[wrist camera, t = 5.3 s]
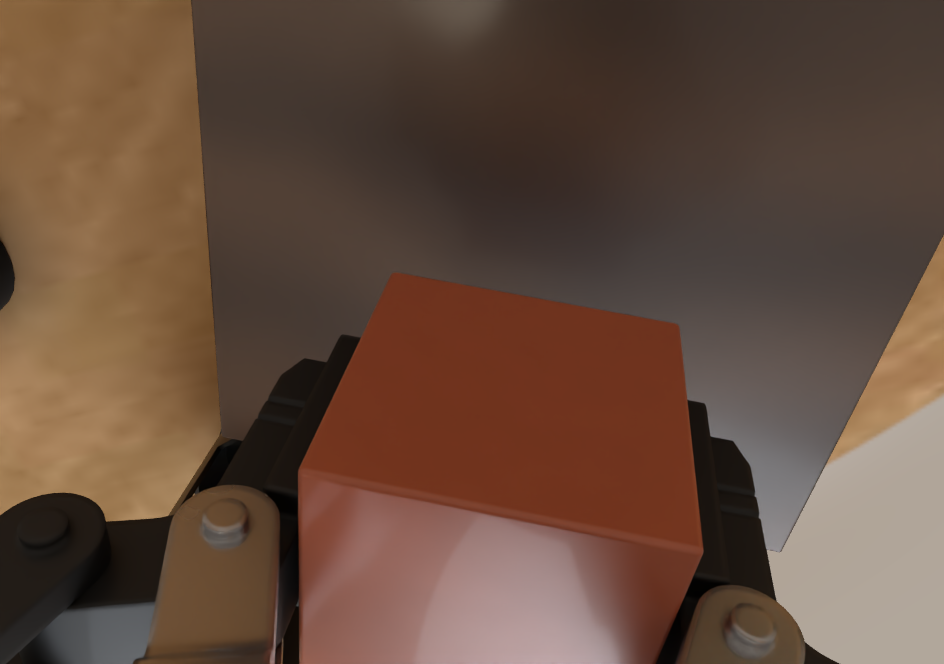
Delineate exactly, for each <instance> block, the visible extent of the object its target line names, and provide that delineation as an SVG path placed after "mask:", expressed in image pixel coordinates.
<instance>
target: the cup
mask: <svg viewBox="0 0 944 664" xmlns="http://www.w3.org/2000/svg"><path fill="white" fill-rule="evenodd" d="M14 279H15V277H14V272H13V267H12V263H11V260H10V258H9V256H8V254H7V252H6V249H5V247H4V246H3V244H2V243H1V242H0V310H1V309H2V308H3V307H4V306H5V305H6V304H7V303H8V302H9V300H10V298H11V295H12V293H13V291H14Z"/></svg>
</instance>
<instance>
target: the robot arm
mask: <svg viewBox="0 0 944 664" xmlns="http://www.w3.org/2000/svg"><path fill="white" fill-rule="evenodd" d="M360 339H361V337H355V336H350V335H345V334H342V335H341V336H340V337H339V339H338V341H337V343H336V345H335V347H334V349H333V351H332V352H331V354H330V356H329V358H328V360H327V362H322V361H317V360H312V359H307V358H304V359H303V360H301V361H300V362H298V363H297V364H296V365H294V366H293V367H291V368H290V369H289V370H287V371H286V372H284V373H283V374H282V375H281V376H280V378H279V379H278V381H277V383H276V384H275V386H274V388H273V390H272V391H271V393H270V395H269V397H268V401H266V402H265V404H264V405H263V407H262V409H261V410H260V412H259V414H258V418H257V419H255V421H254V423H253V424H252V426H251V428H250V429H249V431H248V433H247V435H246V436H245V438H244V440H243V442H242V443H241V445H240V447H239V449H238V450H237V452H236V454H235V455H234V457H233V459H232V461H231V462H230V464H229V466H228V468H227V469H226V471H225V473H224V474H223V476H222V478H221V480H220V481H219V483H218V485H217V486H216V487H212V488H209V489H206V490H203V491H201V492H199V493H197V494H195V495H194V496H192V497H191V498H189V499H188V500H187V501H186V502H184V503H183V504H182V505H181V506H180V508H179V509H178V510H177V511H176V513H175V514H174V515H171V516H166V517H162V518H154V519H140V520H125V521H110V522H106V521H105V517H104V513H103V512H102V510H101V508H100V507H99V506H98V505H97V504H96V503H95V502H94V501H92V500H90V499H89V498H86V497H84V496H81V495H77V494H72V493H52V494H45V495H41V496H37V497H33V498H31V499H28V500H25V501H23V502H21V503H19V504H17V505H15V506H13V507H12V508H10V509H9V510H7V511H6V512H4V513H3V514H2V515H0V664H282V663H283V637H284V635H285V632H286V630H287V627H288V625H289V622H290V620H291V617H292V615H293V612H294V609H295V607H296V606H298V607H299V549H298V470H299V468H300V465H301V463H302V461H303V459H304V457H305V455H306V453H307V451H308V449H309V446H310V444H311V442H312V440H313V438H314V436H315V434H316V432H317V430H318V427H319V425H320V423H321V421H322V419H323V417H324V415H325V413H326V411H327V408H328V406H329V404H330V402H331V400H332V398H333V396H334V394H335V392H336V389H337V387H338V385H339V383H340V381H341V379H342V377H343V375H344V373H345V370H346V368H347V366H348V364H349V362H350V360H351V358H352V356H353V354H354V351H355V349H356V347H357V345H358V343H359V341H360ZM687 401H688V410H689V420H690V429H691V438H692V448H693V457H694V466H695V475H696V485H697V494H698V503H699V513H700V522H701V531H702V541H703V550H704V552H703V555H702V557H701V559H700V562H699V564H698V566H697V569H696V571H695V573H694V576H693V578H692V580H691V583H690V585H689V587H688V590H687V592H686V594H685V597H684V599H683V601H682V604H681V606H680V608H679V611H678V613H677V615H676V618H675V620H674V622H673V625H672V627H671V629H670V632H669V634H668V636H667V639H666V641H665V643H664V646H663V648H662V650H661V653H660V655H659V657H658V660H657V662H656V664H839V663H837V662H835V661H833V660H831V659H829V658H827V657H825V656H824V655H822V654H820V653H819V652H817V651H816V650H815V649H813V648H812V647H810V646H809V645H808V644H807V643H805V642H804V638H803V635H802V632H801V630H800V628H799V626H798V625H797V623H796V621H795V620H794V619H793V617H792V616H791V615H790V614H789V613H788V612H787V611H786V609H784V607H782V606H781V605H780V604H779V603H778V602H777V601H776V597H775V592H774V587H773V582H772V577H771V571H770V566H769V560H768V555H767V550H766V545H765V539H764V534H763V529H762V524H761V519H759V514H760V513H759V508H758V503H757V497H755V487H754V482H753V476H752V471H751V466H750V465H749V463H748V462H747V460H746V459H745V457H744V456H743V454H742V453H741V452H740V450H739V449H738V447H737V446H736V444H735V443H734V441H732V440H727V439H721V438H716V437H711V436H710V429H709V421H708V414H707V408H706V405H705V403H701V402H696V401H691V400H687Z"/></svg>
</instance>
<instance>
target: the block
mask: <svg viewBox="0 0 944 664" xmlns="http://www.w3.org/2000/svg"><path fill="white" fill-rule="evenodd" d="M298 549H299V664H656V662H657V660H658V657H659V655H660V653H661V650H662V648H663V646H664V643H665V641H666V639H667V636H668V634H669V632H670V629H671V627H672V625H673V622H674V620H675V618H676V615H677V613H678V611H679V608H680V606H681V604H682V601H683V599H684V597H685V594H686V592H687V590H688V587H689V585H690V583H691V580H692V578H693V576H694V573H695V571H696V569H697V566H698V564H699V562H700V559H701V557H702V555H703V552H704V550H703V541H702V531H701V522H700V513H699V503H698V494H697V485H696V475H695V466H694V457H693V448H692V438H691V429H690V420H689V410H688V401H687V392H686V382H685V373H684V364H683V355H682V345H681V336H680V328H679V326H678V325H677V324H675V323H670V322H665V321H659V320H654V319H648V318H643V317H638V316H632V315H627V314H621V313H616V312H610V311H605V310H599V309H594V308H588V307H583V306H577V305H572V304H567V303H561V302H556V301H550V300H545V299H539V298H534V297H528V296H523V295H517V294H512V293H507V292H501V291H496V290H490V289H485V288H479V287H474V286H468V285H463V284H457V283H452V282H446V281H441V280H436V279H430V278H425V277H419V276H414V275H408V274H403V273H397V272H396V273H392V274H391V276H390V278H389V280H388V282H387V284H386V286H385V288H384V290H383V292H382V294H381V297H380V299H379V301H378V303H377V305H376V307H375V309H374V311H373V313H372V316H371V318H370V320H369V322H368V324H367V326H366V328H365V330H364V332H363V335H362V337H361V339H360V341H359V343H358V345H357V347H356V349H355V351H354V354H353V356H352V358H351V360H350V362H349V364H348V366H347V368H346V370H345V373H344V375H343V377H342V379H341V381H340V383H339V385H338V387H337V389H336V392H335V394H334V396H333V398H332V400H331V402H330V404H329V406H328V408H327V411H326V413H325V415H324V417H323V419H322V421H321V423H320V425H319V427H318V430H317V432H316V434H315V436H314V438H313V440H312V442H311V444H310V446H309V449H308V451H307V453H306V455H305V457H304V459H303V461H302V463H301V465H300V468H299V470H298Z"/></svg>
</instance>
